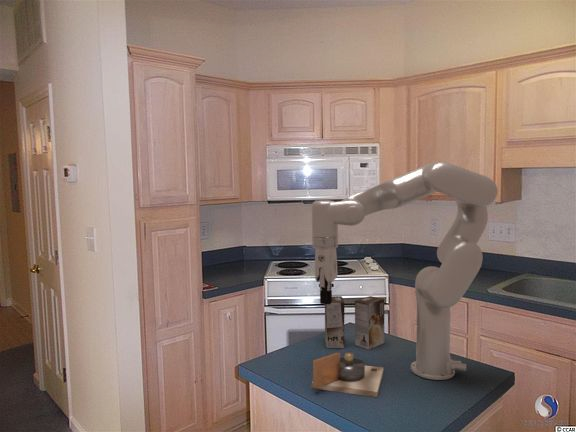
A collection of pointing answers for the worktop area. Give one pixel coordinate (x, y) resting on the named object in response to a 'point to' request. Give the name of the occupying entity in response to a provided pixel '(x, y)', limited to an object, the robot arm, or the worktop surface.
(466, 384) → the worktop surface
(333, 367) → the cam dial
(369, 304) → the coffee box
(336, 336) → the coffee box
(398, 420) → the worktop surface
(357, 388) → the dial board
